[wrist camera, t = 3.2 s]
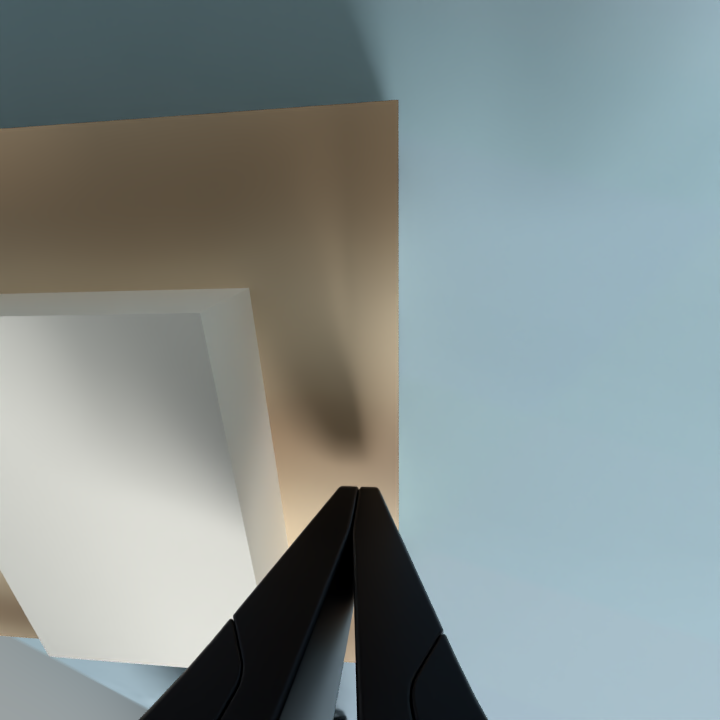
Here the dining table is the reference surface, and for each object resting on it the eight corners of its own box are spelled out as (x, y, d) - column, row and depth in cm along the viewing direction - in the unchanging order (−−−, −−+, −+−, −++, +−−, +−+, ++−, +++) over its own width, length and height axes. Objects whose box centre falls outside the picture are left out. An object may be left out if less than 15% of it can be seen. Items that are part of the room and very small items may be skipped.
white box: (295, 594, 11) (275, 674, 9) (106, 583, 11) (49, 656, 9) (249, 288, 7) (199, 313, 6) (-18, 294, 8) (-144, 319, 6)
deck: (397, 555, 15) (398, 666, 12) (88, 541, 17) (0, 635, 13) (396, 143, 10) (398, 99, 6) (-70, 171, 11) (-305, 150, 7)
